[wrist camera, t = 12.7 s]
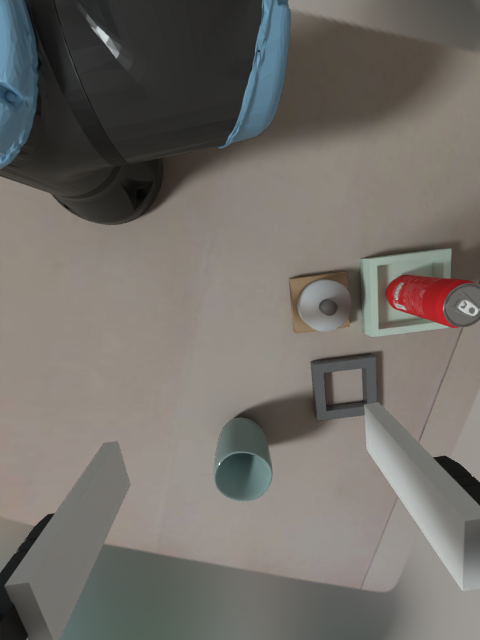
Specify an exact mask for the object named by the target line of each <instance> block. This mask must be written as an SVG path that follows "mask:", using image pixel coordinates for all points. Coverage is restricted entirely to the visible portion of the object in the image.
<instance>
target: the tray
mask: <svg viewBox="0 0 480 640" xmlns="http://www.w3.org/2000/svg"><path fill="white" fill-rule="evenodd" d="M451 250H452V249H433V250H426V251H418V252H410V253H402V254H395V255H387V256H379V257H371V258H363V259H360V272H361V302H362V332H364V333H365V334H367V335H369V336H371V337H377V336H385V335H393V334H401V333H409V332H417V331H425V330H433V329H441V328H449V327H448V326H445V325H442V324H439V323H436V322H433V321H429V320H426V319H423V318H420V317H417V316H414V315H411V314H408V313H405V312H402V311H399V310H396V309H394V308H393V307H391V305H390V304H389V302H388V301H387V299H386V289H387V286H388V285H389V283H390V282H391V281H392V280H394V279H396V278H397V277H399V276H402V275H417V276H428V277H438V278H448V279H450V278H451Z"/></svg>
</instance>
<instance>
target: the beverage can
mask: <svg viewBox="0 0 480 640" xmlns="http://www.w3.org/2000/svg"><path fill="white" fill-rule="evenodd" d="M386 299H387V301H388V302H389V304H390V305H391V307H393V308H394V309H396V310H399V311H402V312H405V313H408V314H411V315H414V316H417V317H420V318H423V319H426V320H429V321H433V322H436V323H439V324H442V325H445V326H448V327H452V328H459V327H468V326H471V325H473V324H475V323H477V322H478V321H479V320H480V286H479V285H477V284H475V283H473V282H471V281H467V280H458V279H448V278H438V277H428V276H417V275H402V276H399V277H397V278H396V279H394V280H392V281H391V282H390V283H389V285H388V286H387V289H386Z"/></svg>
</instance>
